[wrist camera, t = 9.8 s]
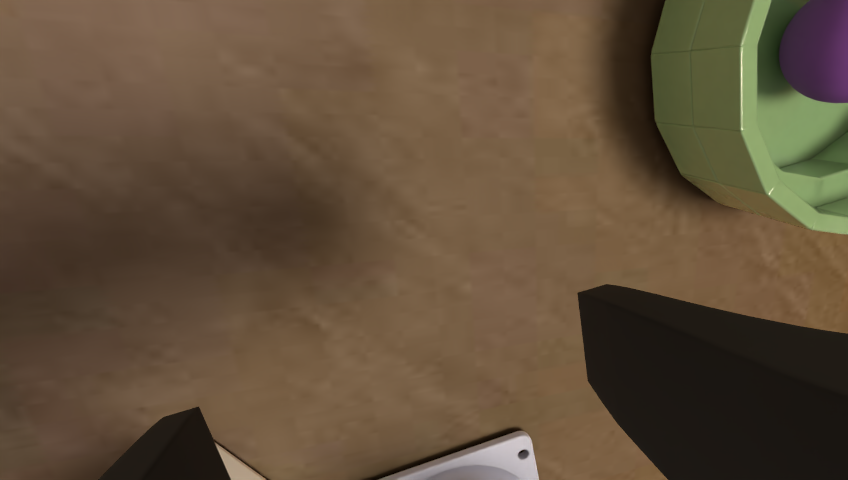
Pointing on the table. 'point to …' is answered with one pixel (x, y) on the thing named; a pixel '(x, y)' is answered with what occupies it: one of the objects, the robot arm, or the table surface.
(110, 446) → the table surface
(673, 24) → the bowl
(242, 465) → the cylinder-topped cream block
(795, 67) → the ball
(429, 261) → the table surface
